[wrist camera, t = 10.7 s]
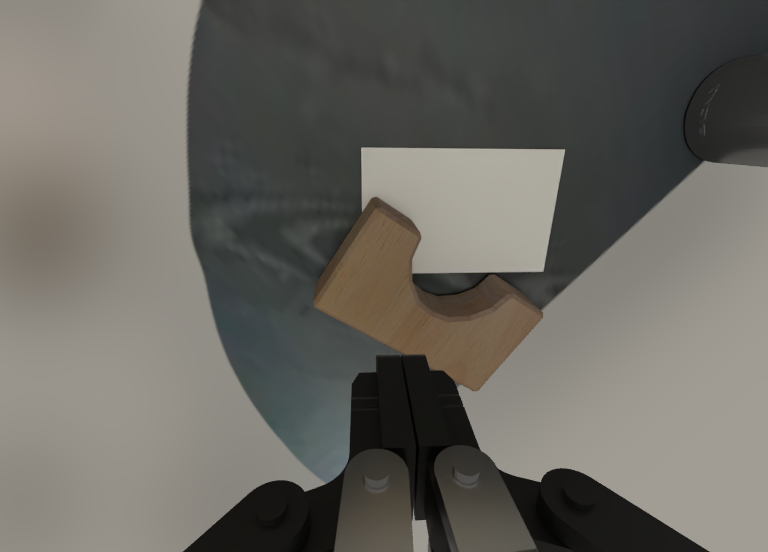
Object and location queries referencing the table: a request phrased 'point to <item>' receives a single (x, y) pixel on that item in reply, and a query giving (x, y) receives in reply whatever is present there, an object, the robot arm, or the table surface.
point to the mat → (469, 204)
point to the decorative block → (420, 301)
